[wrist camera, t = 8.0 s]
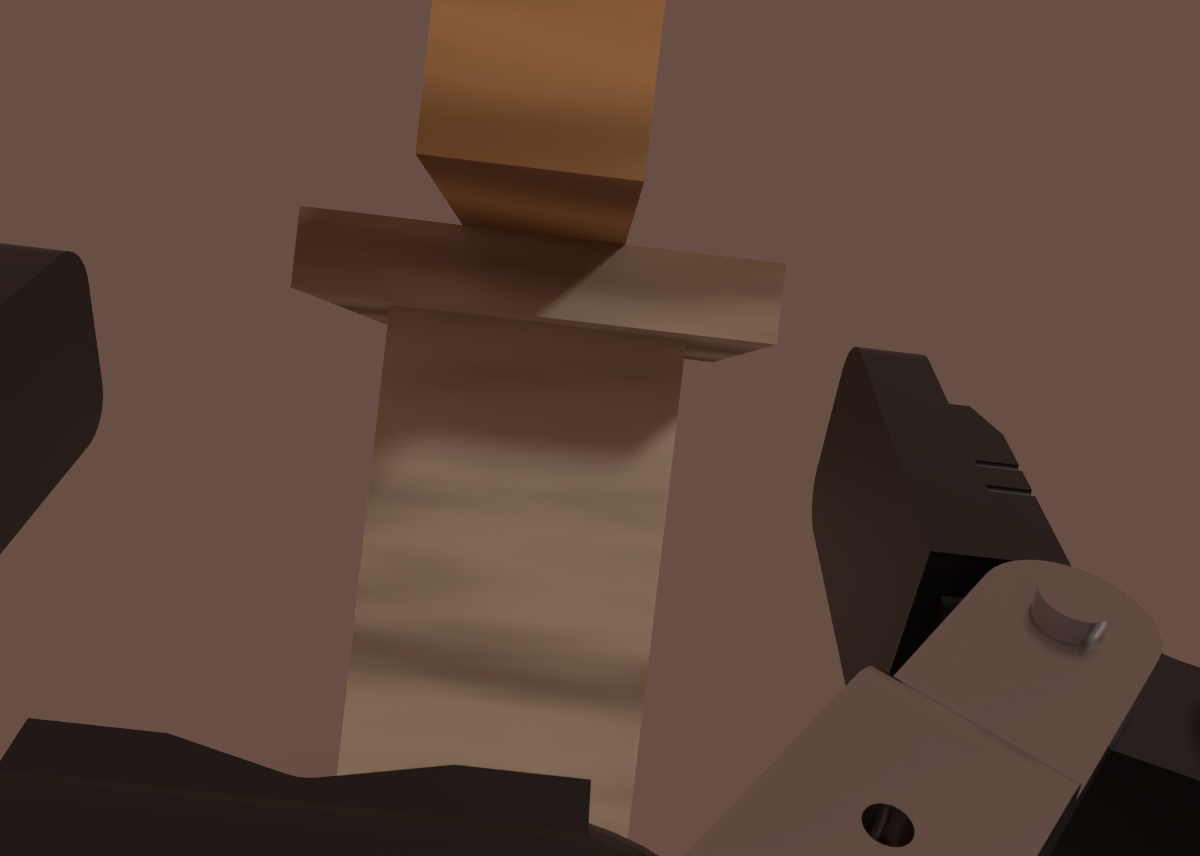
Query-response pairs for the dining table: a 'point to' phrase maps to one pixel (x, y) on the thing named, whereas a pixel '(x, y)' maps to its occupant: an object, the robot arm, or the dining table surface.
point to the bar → (541, 112)
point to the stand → (518, 484)
